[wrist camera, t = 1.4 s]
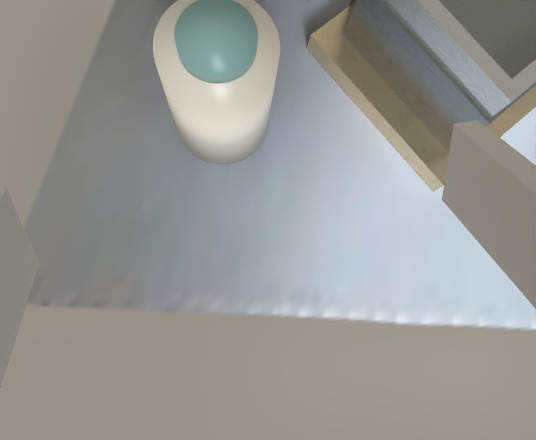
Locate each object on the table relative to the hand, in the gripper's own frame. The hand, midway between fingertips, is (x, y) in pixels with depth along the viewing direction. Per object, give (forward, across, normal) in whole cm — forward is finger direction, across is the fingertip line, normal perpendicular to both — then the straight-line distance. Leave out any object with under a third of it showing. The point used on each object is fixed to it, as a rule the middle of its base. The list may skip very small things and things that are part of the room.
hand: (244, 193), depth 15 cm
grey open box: (+25, +19, -6) cm, 32 cm away
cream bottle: (+23, +1, -8) cm, 25 cm away
